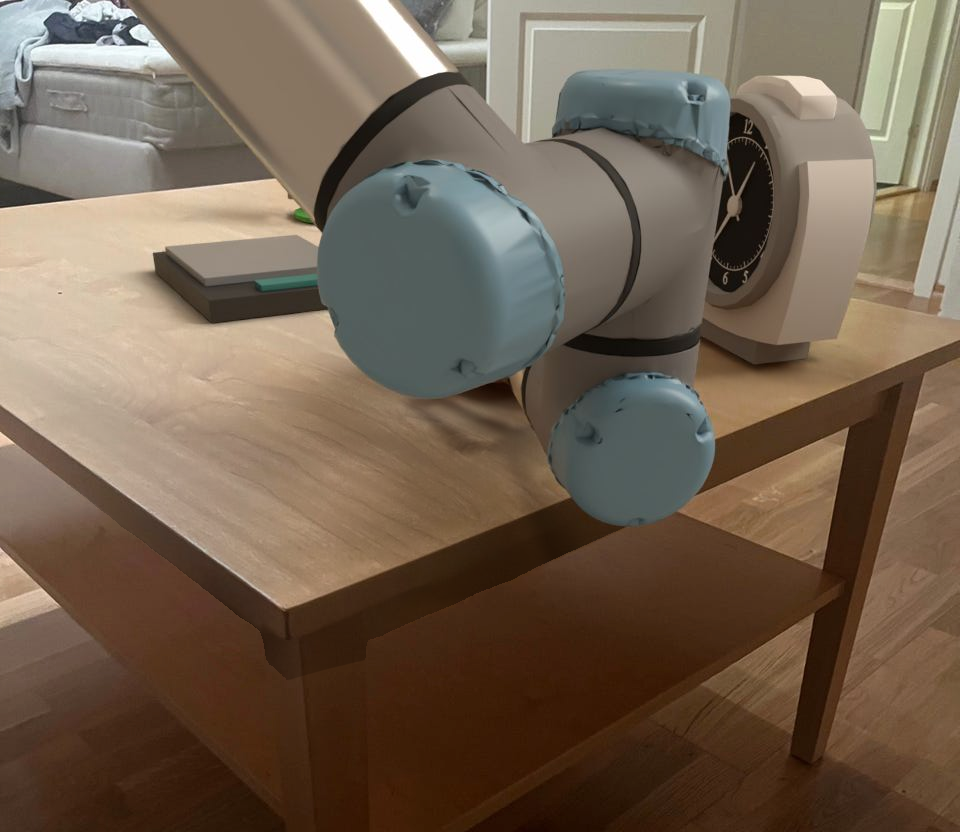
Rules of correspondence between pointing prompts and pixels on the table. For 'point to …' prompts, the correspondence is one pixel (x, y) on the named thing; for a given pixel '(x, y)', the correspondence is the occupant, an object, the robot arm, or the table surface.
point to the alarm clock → (788, 219)
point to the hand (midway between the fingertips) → (503, 270)
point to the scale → (244, 276)
